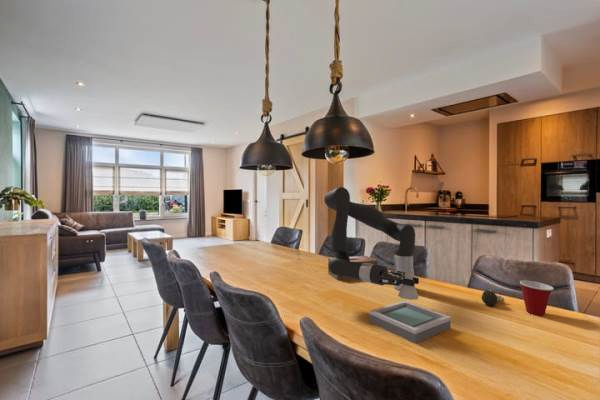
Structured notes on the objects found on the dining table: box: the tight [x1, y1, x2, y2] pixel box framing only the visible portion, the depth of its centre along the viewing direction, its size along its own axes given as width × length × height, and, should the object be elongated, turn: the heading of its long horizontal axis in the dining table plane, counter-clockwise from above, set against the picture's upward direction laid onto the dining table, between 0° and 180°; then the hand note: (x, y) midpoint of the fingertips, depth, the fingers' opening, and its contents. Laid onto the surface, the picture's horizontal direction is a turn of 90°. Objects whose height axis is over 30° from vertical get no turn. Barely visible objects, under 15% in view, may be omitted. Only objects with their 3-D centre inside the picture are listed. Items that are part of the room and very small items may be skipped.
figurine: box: [481, 289, 505, 307], centre depth 133 cm, size 8×6×15 cm
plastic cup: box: [519, 280, 554, 317], centre depth 120 cm, size 11×11×12 cm
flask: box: [397, 269, 419, 301], centre depth 110 cm, size 7×7×10 cm
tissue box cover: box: [327, 255, 379, 281], centre depth 181 cm, size 26×14×10 cm, turn 105°
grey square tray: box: [369, 300, 452, 344], centre depth 110 cm, size 20×20×4 cm
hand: (416, 282), depth 108 cm, fingers closed on flask, 3 cm apart
